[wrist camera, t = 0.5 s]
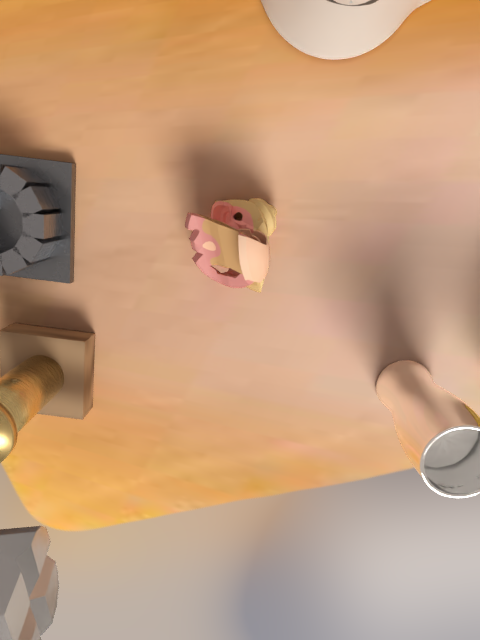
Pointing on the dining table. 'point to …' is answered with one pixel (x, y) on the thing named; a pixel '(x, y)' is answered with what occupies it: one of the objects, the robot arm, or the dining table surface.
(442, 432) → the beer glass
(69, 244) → the hub
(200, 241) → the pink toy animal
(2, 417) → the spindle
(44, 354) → the stand
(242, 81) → the dining table surface
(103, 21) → the dining table surface
